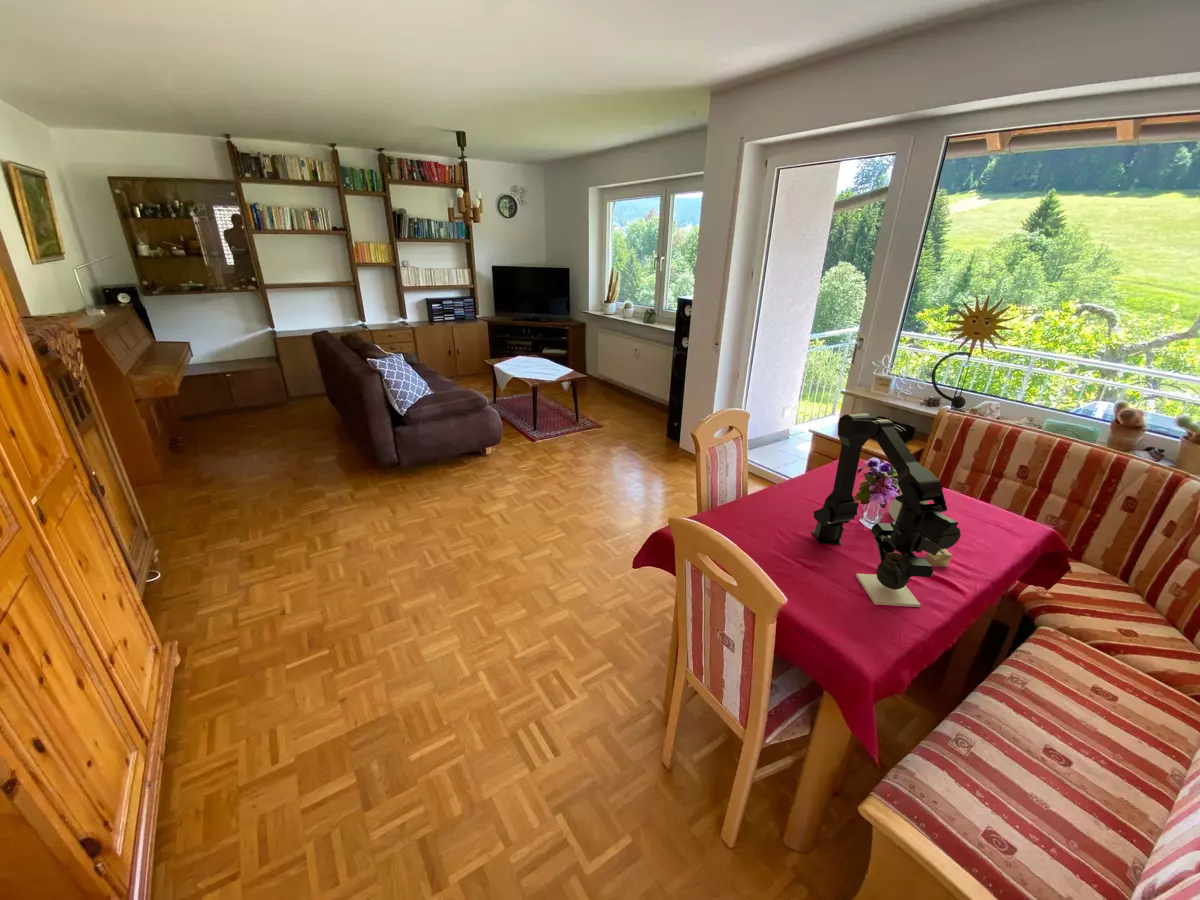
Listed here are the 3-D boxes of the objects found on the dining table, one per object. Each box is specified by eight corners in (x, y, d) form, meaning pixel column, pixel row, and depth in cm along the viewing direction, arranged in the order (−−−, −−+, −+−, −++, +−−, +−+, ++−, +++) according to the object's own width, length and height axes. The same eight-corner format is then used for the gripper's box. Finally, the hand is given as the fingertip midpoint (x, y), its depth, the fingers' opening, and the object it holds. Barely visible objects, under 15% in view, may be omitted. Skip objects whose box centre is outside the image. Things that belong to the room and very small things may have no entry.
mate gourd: (910, 595, 122) (922, 562, 118) (878, 591, 123) (888, 559, 119) (899, 576, 129) (910, 545, 125) (868, 573, 130) (878, 541, 126)
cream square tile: (874, 604, 122) (875, 601, 122) (855, 575, 132) (856, 573, 132) (919, 607, 122) (920, 604, 121) (897, 578, 132) (898, 575, 131)
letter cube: (932, 566, 137) (937, 554, 136) (924, 557, 141) (929, 545, 139) (947, 567, 137) (952, 554, 136) (938, 558, 141) (943, 546, 139)
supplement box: (919, 526, 156) (932, 491, 151) (894, 523, 157) (906, 488, 152) (911, 514, 163) (923, 480, 157) (887, 511, 164) (898, 477, 159)
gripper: (967, 549, 110) (944, 603, 116) (922, 505, 127) (904, 555, 133) (917, 546, 110) (897, 600, 117) (878, 503, 127) (862, 552, 134)
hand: (891, 575), depth 125 cm, fingers closed on mate gourd, 7 cm apart
